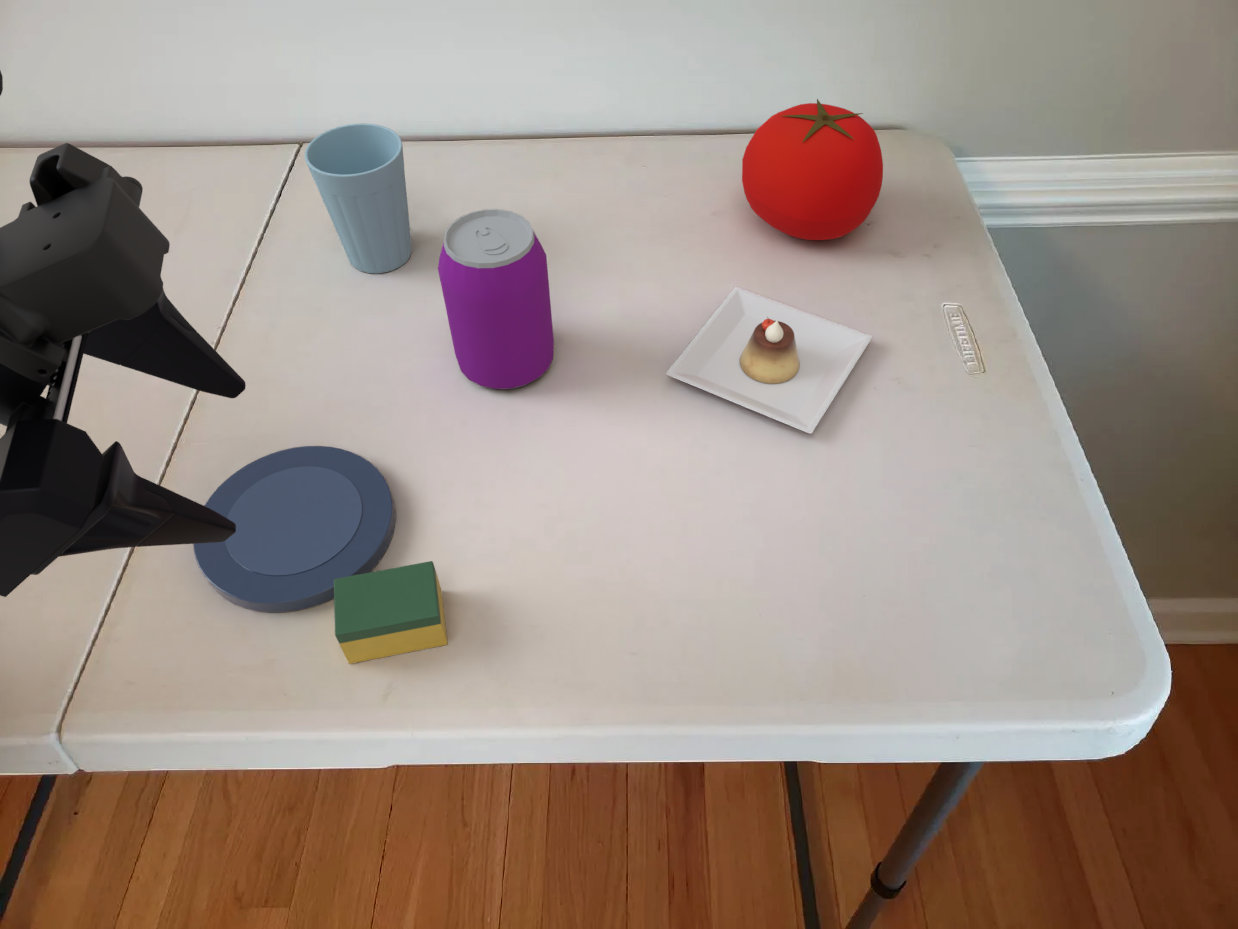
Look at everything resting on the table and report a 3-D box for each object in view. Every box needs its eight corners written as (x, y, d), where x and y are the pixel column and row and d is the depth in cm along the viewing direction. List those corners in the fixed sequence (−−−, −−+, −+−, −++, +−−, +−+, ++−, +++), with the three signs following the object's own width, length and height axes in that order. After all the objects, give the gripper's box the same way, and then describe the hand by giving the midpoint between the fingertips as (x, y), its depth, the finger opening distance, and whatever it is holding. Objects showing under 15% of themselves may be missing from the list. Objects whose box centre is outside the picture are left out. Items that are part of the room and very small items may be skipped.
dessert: (734, 296, 77) (740, 249, 74) (870, 346, 73) (882, 299, 70) (664, 384, 71) (666, 337, 67) (808, 444, 67) (819, 398, 63)
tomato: (892, 212, 85) (920, 105, 76) (833, 279, 79) (857, 171, 70) (778, 170, 89) (793, 65, 81) (714, 230, 83) (723, 124, 75)
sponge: (348, 664, 56) (334, 635, 53) (347, 608, 58) (333, 578, 56) (447, 645, 57) (438, 615, 54) (441, 590, 59) (432, 560, 56)
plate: (192, 630, 57) (184, 620, 56) (206, 473, 66) (199, 462, 65) (402, 591, 59) (398, 580, 58) (390, 442, 67) (386, 431, 66)
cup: (442, 242, 82) (421, 136, 74) (389, 292, 78) (361, 185, 70) (374, 219, 85) (346, 114, 77) (319, 266, 80) (284, 160, 72)
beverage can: (443, 348, 74) (416, 222, 64) (530, 317, 76) (516, 191, 67) (481, 409, 69) (457, 284, 60) (572, 374, 72) (563, 248, 62)
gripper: (-112, 314, 25) (353, 526, 35) (25, 12, 37) (343, 240, 47) (-284, 523, 29) (180, 657, 39) (-110, 190, 41) (210, 363, 51)
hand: (236, 457), depth 44 cm, fingers open, 9 cm apart
